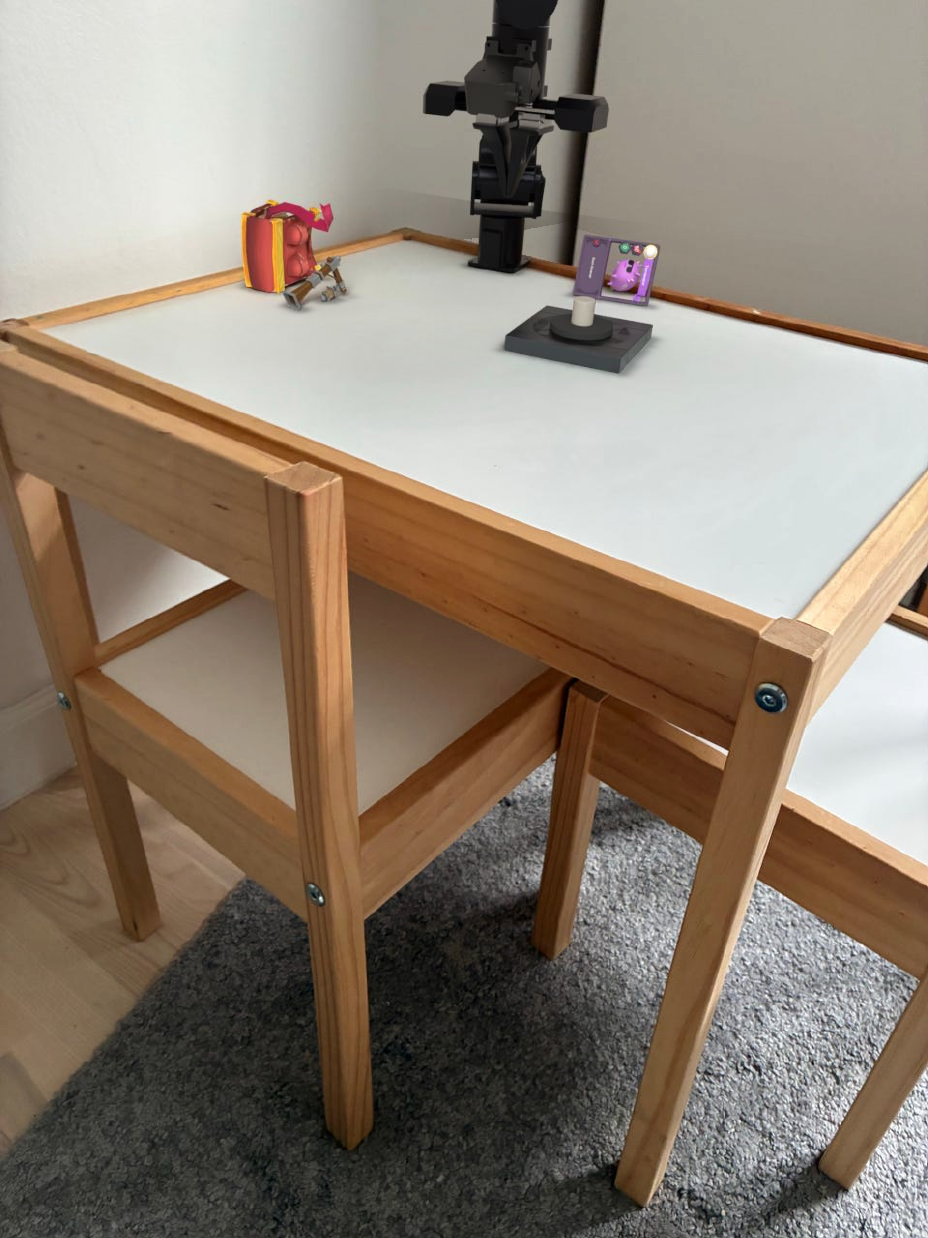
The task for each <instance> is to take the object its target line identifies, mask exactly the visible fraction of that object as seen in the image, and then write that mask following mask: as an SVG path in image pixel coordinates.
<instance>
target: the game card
mask: <svg viewBox="0 0 928 1238" xmlns="http://www.w3.org/2000/svg"><path fill="white" fill-rule="evenodd" d="M581 243H582V244H581V248H580V253H579V258H578V259H579V260H578V264H577V268H576V269H577V270H576V275H575V280H574V286H573V291H572V294H573V295H574V296H576V297H579V296H586V297H591V298H594V299H597V300H605V301H611V302H615V303H616V302H618V303H624V304H630V305H636V306H643V307H647V306H649V303H650V298H651V293H652V289H653V284H654V280H655V274H656V270H657V265H658V262H659V261H658V260H659V255H660V251H661V245H660V244H658V243H649V242H643V241H637V240H630V239H629V240H628V239H621V238H614V237H607V236H599V235H592V234H584V235H583V238H582V242H581ZM612 243H614V244H619V245H618V250H619V253H620V254H621V255H622V254H623V255H629V253H630V252H631V255H632V256H636V257H640V256H641V255H642V254H643V257H644V262H643V264H640V262H641V261H640V260H639V261H637V260H636V259H635V260H633V259H628V258H627V259H623V260H622V261H619V260H616V264H617V265H616V267H615V269H611V273H612V274H611V275H610V280H609V282H607V286H609V291H614V290H615V291H618V292H626V291H629V290H631V289H633V288H634V287H635V286H636V285H637V284H638V282H639V285H638V289H637V293H635V294H634V295H633V298H632V299H625V298H621V297H612V296H607V295H602V292H603V287H604V282H605V277H606V273H607V267H608V262H609V258H610V253H611V246H612ZM641 267H642V272H641V273H640V268H641ZM641 297H645V300H644V301H640V299H641Z"/></svg>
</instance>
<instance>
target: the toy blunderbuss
mask: <svg viewBox="0 0 928 1238" xmlns="http://www.w3.org/2000/svg"><path fill="white" fill-rule="evenodd" d="M325 260H326V261H324V265H323V266H322V267H321V268H320V269H319V270H318V271H317V270H316V271H314V272H315V274H314V273H312V275H311V276H310V277H309V278H306V279H305V282H303V283H302V284H301V285H299V286H297V287H296V288H295V289H292V290H291V291H287V290H284V291H281V293H282V296H283V298H284V300H285V302H286V305H287V307H289V308H292V309H293V310H297V311H299V310H300V309H301V305H300V303H301V302H302V301H303V299H304V298H305V297H306V296H307V295H308V294H309V292H310V291H312V290H315V289H316V288H317V286H320V284H322V282H324V281H325V280H326V277H328V278H332V279H334V281H335V284H336V285H332V287H331V286H328V285H326V289H325V290H323V291H321V292H320V294H321V296H320V301H322V302H326V301H327V302H330V301H331V299H333V297H337V294H336V292H338V290H339V292H340V293H343V294H346V293H347V292H348V289H347V286H346V283H345V280H344V279H343V278H342V276H341V273H340V271H339V267H340V266H341V261H342V258H341V256H340V255H331V256H327V257H326V258H325ZM331 272H332V273H331ZM330 273H331V274H332V275H331V274H330Z"/></svg>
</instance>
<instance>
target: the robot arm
mask: <svg viewBox="0 0 928 1238" xmlns="http://www.w3.org/2000/svg"><path fill="white" fill-rule="evenodd" d="M558 3H559V0H493V1H492V13H491V16H492V17H491V34H490V35H487V36H486V37H485V38H486V39H485V43H484V52H483V55H482V58H481V59H480V60H479V61H477V62H476V63H475V64H474V65H473V66H472V67H471V68H470V70H469V71H468V72H466V74H465V75H464V77H463V81H455V80H443V81H436V82H430V83H429V84H427V86H426V88H425V90H424V92H423V95H422V96H423V97H422V114H424V115H431V116H438V117H450V116H451V115H452V114H453V113H454V112H456V111H457V112H466V113H467V114H469V115H471V116H475V122H472V123H471V126H472V128H473V129H474V130H479V131H480V132H481V134H482V135H481V139H480V140H479V143H478V159H477V160H472V165H471V166H472V168H471V184H470V203H469V204H470V205H469V216H479V225H478V226H479V229H478V244H477V245H478V246H477V255H476V256H475V257H472V258H471V259H468V260H467V266H470V267H476V268H482V269H488V270H494V271H500V272H506V273H516V272H517V271H519V270H521V269H522V268H524V267H525V266H527V265H529V264H531V260H532V259H531V258H530V257H524V256H523V250H524V249H523V248H524V237H525V235H524V234H525V227H526V225H525V224H526V219H531V220H537V219H538V218H539V217H542V214H543V213H542V212H543V211H542V210H543V201H544V195H545V189H546V181H547V180H546V179H547V178H546V177H545V176H544V174H543V170H542V164H537V157H538V145H539V143H540V141H541V140H542V138H543V136H544V135H545V134H548V133H552V132H554V129H555V125H553V124H552V121H554V123H555V124H556V126H557V127H558V129H559V130H560V131H567V132H576V133H584V134H585V133H588V134H589V133H590V134H591V133H594V132H597V131H600V130H604V129H606V128H607V127H608V121H609V120H608V119H609V113H610V112H609V111H610V107H609V103H608V100H607V99H606V98H605V96H602V95H593V94H592V95H591V94H582V93H569V94H566V95H564V94H563V95H559V96H558V98H557V99H550V98H547V97H548V89H549V85H547V84H545V82H546V71H547V59H548V51H552V46H553V45H552V43H553V38H551V37H549V36H550V25H551V16H553V13H554V12H555V10H556V8H557V5H558ZM475 200H478V201H479V202H476V201H475Z"/></svg>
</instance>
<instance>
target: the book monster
mask: <svg viewBox="0 0 928 1238" xmlns="http://www.w3.org/2000/svg"><path fill="white" fill-rule="evenodd" d="M319 207H320V209H319V208H318V207H316V206H311V207H309V210H308V209H306V208H305V207H303V206H302V205H299V204H294V203H291V202H288V201H283V202H281V203H280V202H279V201H276V200H274V199H268V200H266V203H265V204H262V205H260V206H258V207H254V208H253V209H251V210H250V211H249V212H248V211H244V212H242V214H241V220H240V222H241V224H240V230H241V231H240V232H241V233H240V236H241V237H240V238H241V257H242V266H243V276H244V282H245V287H246V288H247V287H248V288H252V289H254V290H258V291H262V292H266V293H278V294H280V293H282V292H284V291H286V287H287V286H289V285H292V284H293V283H296V282H298V281H301V280H306V279H307V278H309V277H310V276H311V275H312V273H314V274H315V272H314V271H316V270H317V271H318V270H319V269H320V268H322V267H321V264H318V263H317V260H316V258H315V254H314V250H313V245H312V232H313V231H312V230H313V229H315V230H317V231H320V232H321V231H322V232H325V233H329V230H330V227H331V225H332V223H333V221H334V215H333V210H332V207H331V203H330V202H329V203H327V204H326V205H323V204H322V203H319ZM288 214H291V215H288ZM321 215H322V217H323V218H321Z"/></svg>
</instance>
